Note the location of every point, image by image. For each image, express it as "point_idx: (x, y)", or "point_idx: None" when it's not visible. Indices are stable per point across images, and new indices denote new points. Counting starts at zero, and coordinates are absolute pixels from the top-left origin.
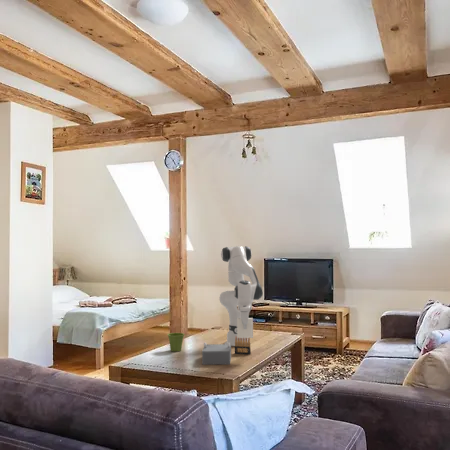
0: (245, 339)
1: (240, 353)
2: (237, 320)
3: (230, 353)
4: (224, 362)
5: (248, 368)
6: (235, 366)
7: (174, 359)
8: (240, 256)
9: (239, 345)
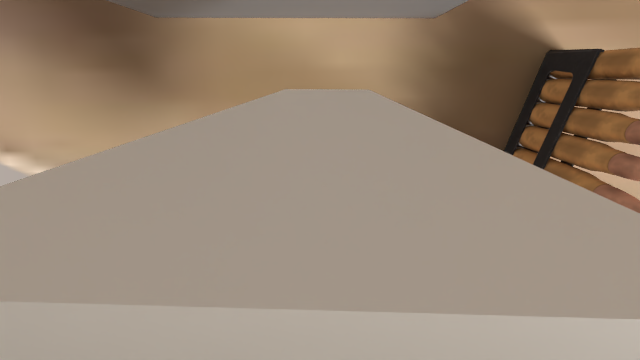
0: (609, 188)
1: (526, 105)
2: (45, 215)
3: (281, 5)
4: None
5: (56, 165)
6: (96, 66)
7: None
8: None
9: (587, 102)
